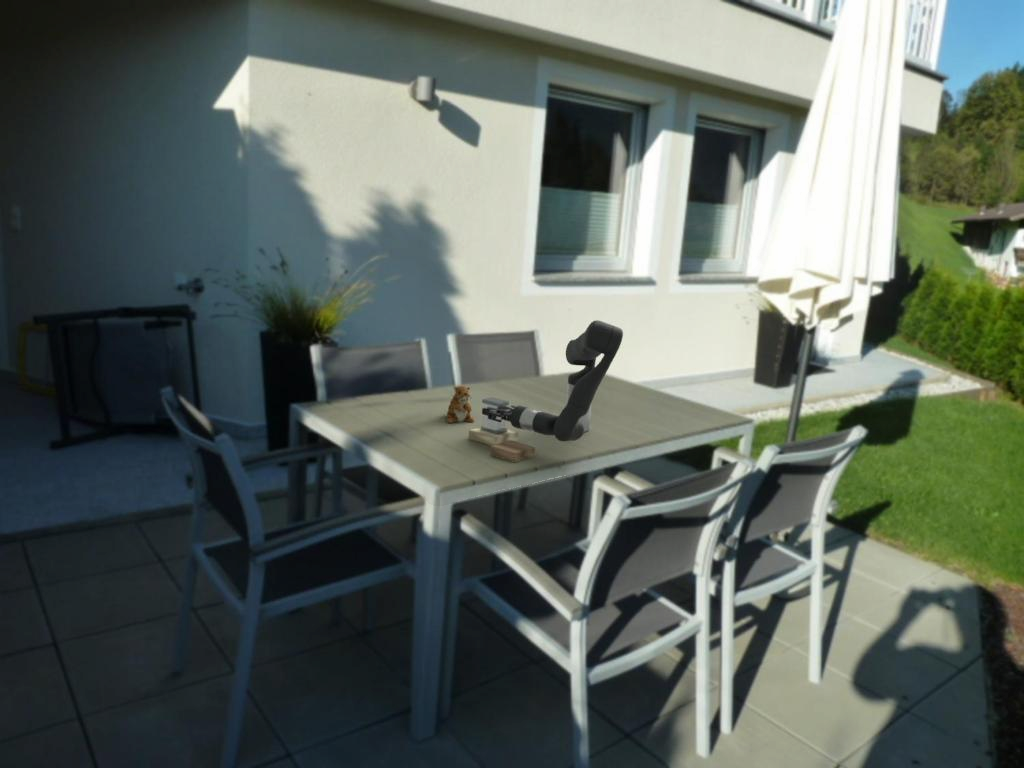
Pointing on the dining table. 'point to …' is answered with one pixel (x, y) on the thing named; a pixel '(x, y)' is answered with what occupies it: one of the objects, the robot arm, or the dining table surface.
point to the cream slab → (492, 436)
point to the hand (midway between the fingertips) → (489, 409)
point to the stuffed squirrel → (459, 406)
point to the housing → (495, 405)
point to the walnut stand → (512, 451)
